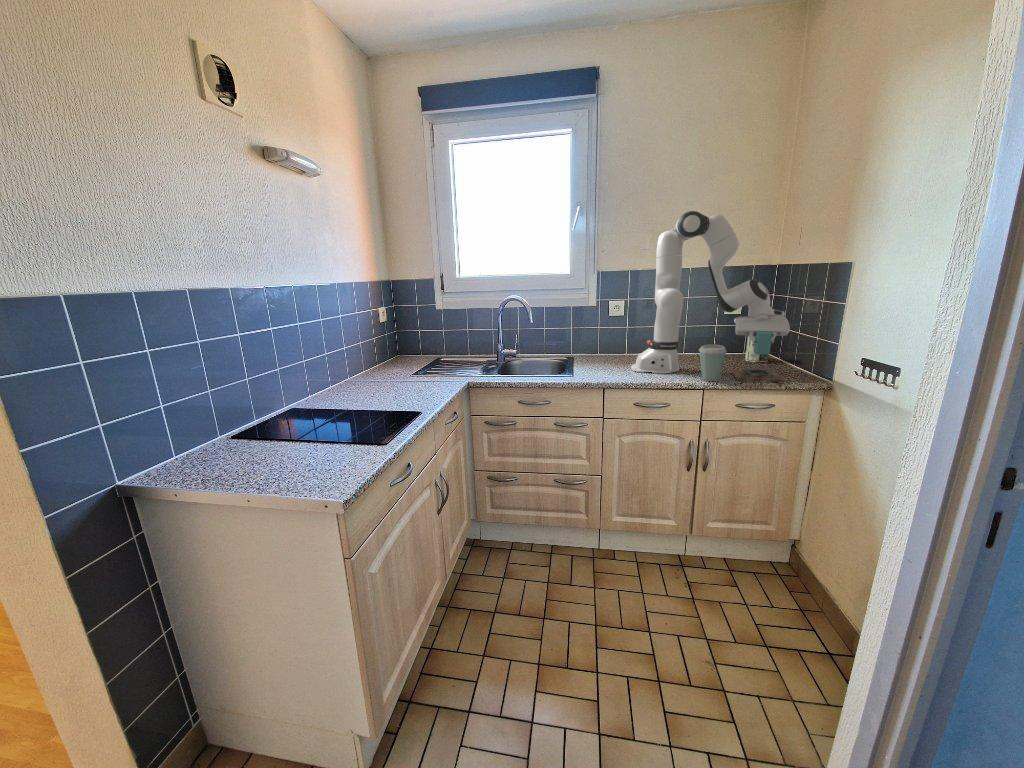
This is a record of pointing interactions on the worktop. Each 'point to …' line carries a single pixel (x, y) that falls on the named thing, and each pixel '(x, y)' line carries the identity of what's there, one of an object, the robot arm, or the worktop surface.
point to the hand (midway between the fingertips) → (763, 342)
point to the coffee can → (751, 355)
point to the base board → (758, 375)
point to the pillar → (763, 343)
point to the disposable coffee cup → (712, 361)
